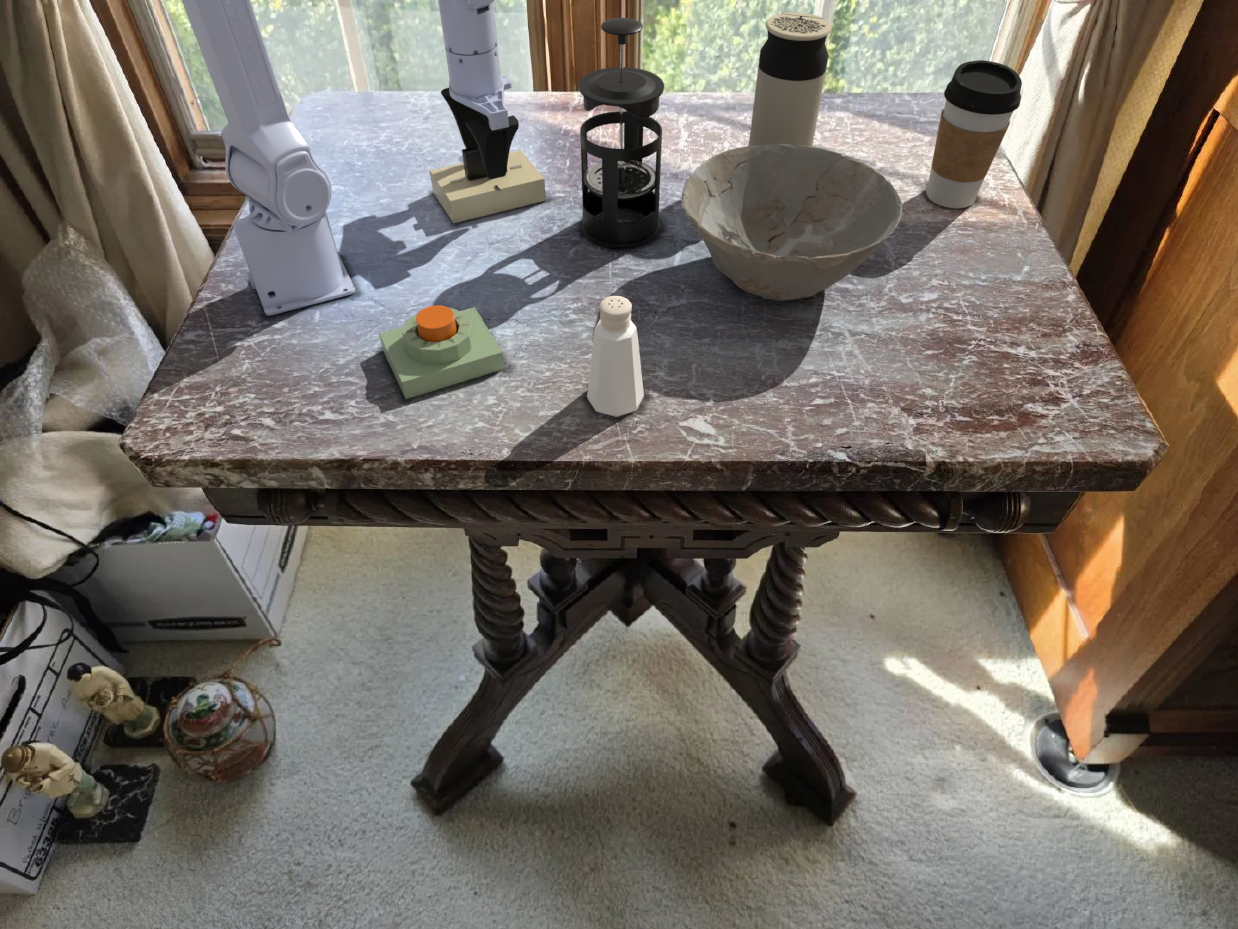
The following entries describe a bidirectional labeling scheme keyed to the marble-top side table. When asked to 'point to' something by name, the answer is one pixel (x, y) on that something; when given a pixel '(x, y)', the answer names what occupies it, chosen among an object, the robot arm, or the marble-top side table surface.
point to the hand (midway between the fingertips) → (485, 161)
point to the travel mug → (790, 80)
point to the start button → (436, 323)
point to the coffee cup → (971, 130)
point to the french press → (621, 150)
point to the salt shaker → (615, 360)
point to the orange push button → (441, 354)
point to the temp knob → (473, 163)
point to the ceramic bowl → (789, 216)
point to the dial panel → (488, 189)
